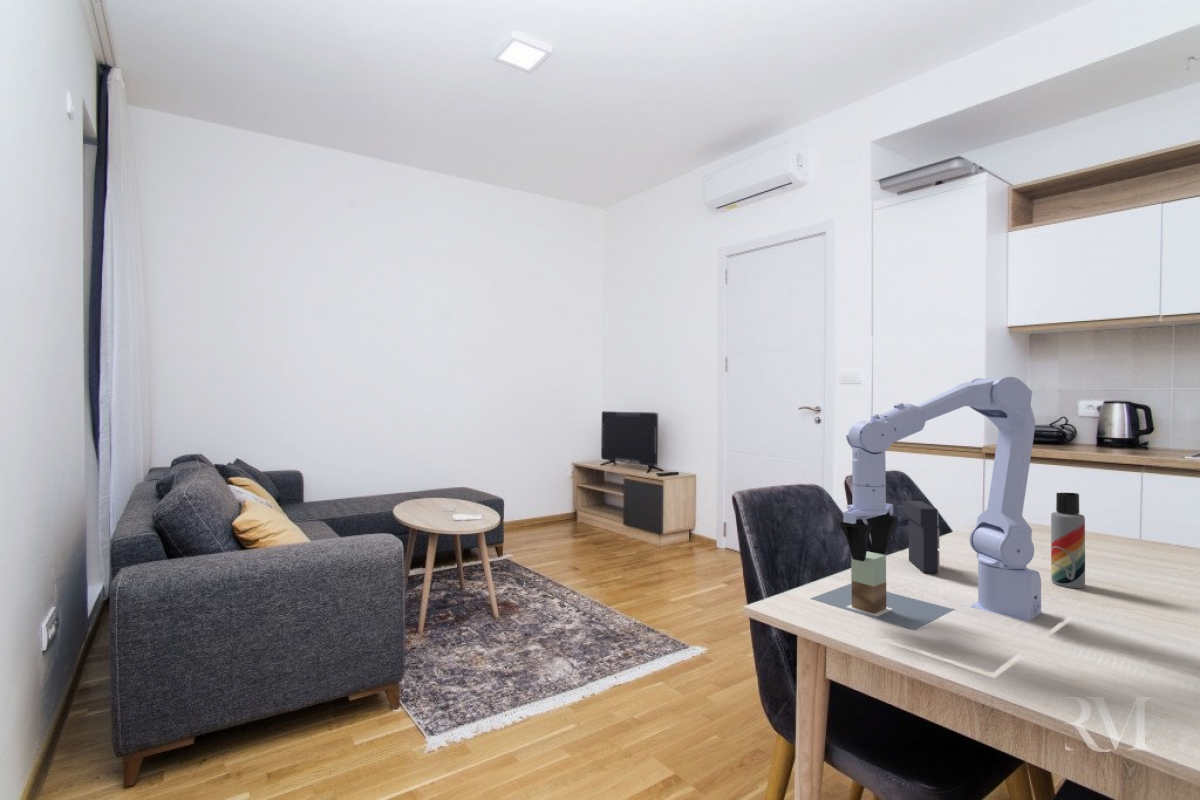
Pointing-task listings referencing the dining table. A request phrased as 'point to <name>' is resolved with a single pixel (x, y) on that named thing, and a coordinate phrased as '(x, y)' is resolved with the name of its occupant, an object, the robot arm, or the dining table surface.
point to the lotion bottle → (1068, 542)
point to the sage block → (869, 569)
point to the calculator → (923, 536)
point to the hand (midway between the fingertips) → (869, 556)
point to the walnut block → (869, 597)
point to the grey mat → (889, 608)
